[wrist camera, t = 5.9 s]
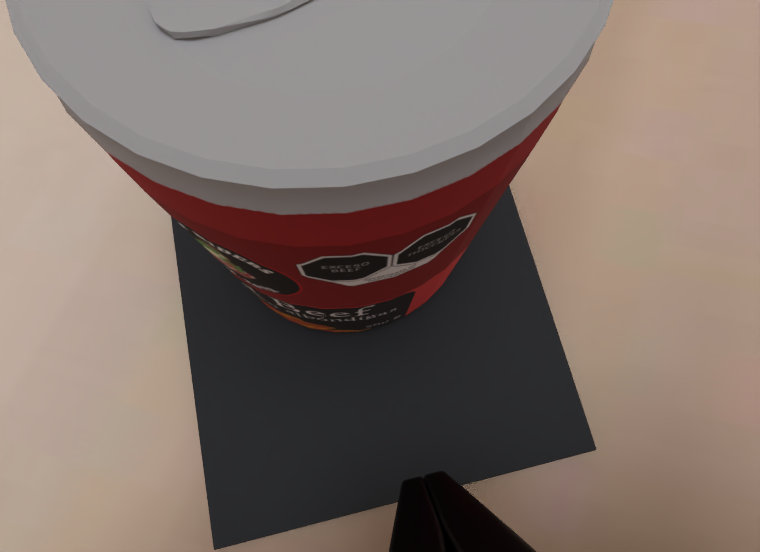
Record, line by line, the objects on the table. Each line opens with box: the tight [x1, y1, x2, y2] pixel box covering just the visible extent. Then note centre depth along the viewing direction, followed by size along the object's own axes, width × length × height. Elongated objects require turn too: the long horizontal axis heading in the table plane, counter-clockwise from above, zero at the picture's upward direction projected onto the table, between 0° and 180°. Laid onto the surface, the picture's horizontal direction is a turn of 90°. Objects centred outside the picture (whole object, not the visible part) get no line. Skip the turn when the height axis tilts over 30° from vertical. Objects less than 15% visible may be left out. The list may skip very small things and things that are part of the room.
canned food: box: [5, 0, 614, 332], centre depth 11 cm, size 8×8×11 cm
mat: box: [171, 186, 596, 550], centre depth 16 cm, size 13×12×1 cm
